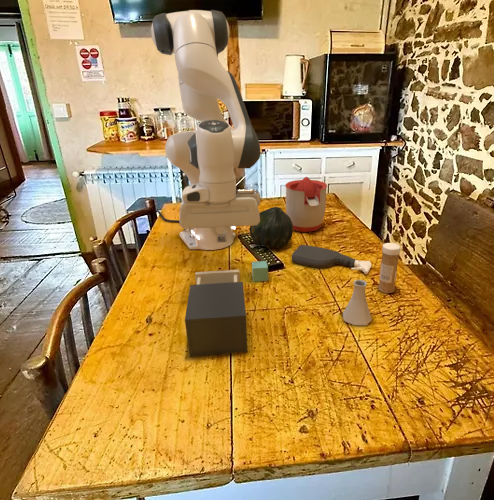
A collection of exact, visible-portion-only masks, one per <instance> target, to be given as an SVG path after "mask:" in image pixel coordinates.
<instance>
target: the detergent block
mask: <svg viewBox="0 0 494 500" xmlns="http://www.w3.org/2000/svg"><path fill="white" fill-rule="evenodd" d="M251 275H252V277H251V278H252V282H253V283H254V282H268V281H269V267H268V262H267V260H260V261H259V260H258V261H257V260H256V261H251Z"/></svg>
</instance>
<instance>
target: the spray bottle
mask: <svg viewBox="0 0 494 500" xmlns="http://www.w3.org/2000/svg"><path fill="white" fill-rule="evenodd" d="M291 262H293V263H294V264H297V265H300V266H306V267H310V268H315V269H316V268H317V269H326V268H331V267H333V266H335V265H340V266H345V267H350V270H352V271H362V272H363V274H364V275H367V274H368V273H369V272H370V270H371V268H372V262H371V261H370V260H358V259H355V258H353V257H351V256H349V255H346V254H343V253H341V252H339V251H336V250H333V249H330V248H325V247H320V246H315V245H308V244H300V245H299V246H298V247H297V248H296V249H295V250H294V251H293V252H292V254H291Z"/></svg>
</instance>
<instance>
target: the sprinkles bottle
mask: <svg viewBox="0 0 494 500" xmlns="http://www.w3.org/2000/svg"><path fill="white" fill-rule="evenodd" d="M381 247H382V249H381V254H382V255H381V261H380V270H379V282H378V287H377V289H378V290H379V292H381V293H384V294H392V293H394V292H395V291H396V281H397V274H398V266H399V264H398V263H399V257H400V254H401V246H400V245H399V244H398V243H394V242H385V243H383V244H382V246H381Z"/></svg>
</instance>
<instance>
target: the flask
mask: <svg viewBox="0 0 494 500" xmlns="http://www.w3.org/2000/svg"><path fill="white" fill-rule="evenodd" d="M352 285H353V291H352V294H351V297H350V299H349V301H348V303H347V305H346V307H345V308H344V309H343V312H342V319H343V321H344V322H346V323H348V324H351V325H353V326H368V325H369V323H370V322H372V319H373V318H372V315H371V312H370V309H369V305H368V300H367V297H366V288H367V286H368V283H367V281H366V280H363V279H355V280H354V281H353V283H352Z"/></svg>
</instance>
